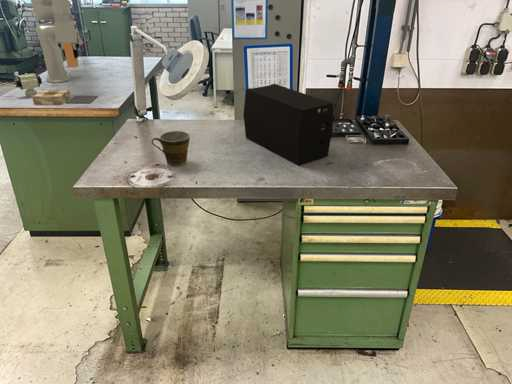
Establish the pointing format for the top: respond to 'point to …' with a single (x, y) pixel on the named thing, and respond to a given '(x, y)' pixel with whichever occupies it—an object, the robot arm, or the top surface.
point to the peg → (70, 55)
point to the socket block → (51, 97)
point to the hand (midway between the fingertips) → (71, 57)
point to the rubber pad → (82, 99)
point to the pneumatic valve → (28, 83)
